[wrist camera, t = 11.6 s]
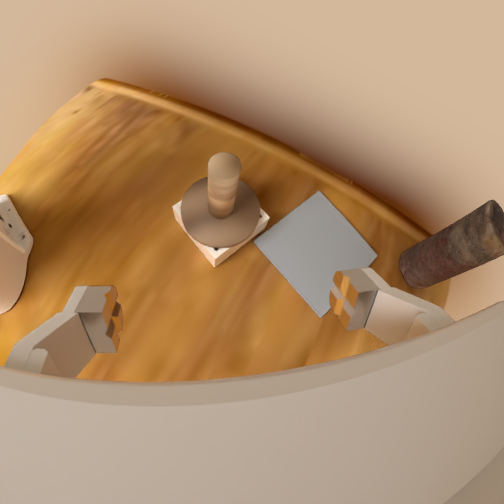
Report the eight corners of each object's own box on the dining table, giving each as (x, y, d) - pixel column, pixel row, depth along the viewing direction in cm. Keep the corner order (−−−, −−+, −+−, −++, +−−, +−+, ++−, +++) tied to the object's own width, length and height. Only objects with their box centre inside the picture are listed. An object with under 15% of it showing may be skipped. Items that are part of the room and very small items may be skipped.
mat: (253, 242, 38) (254, 240, 38) (317, 192, 42) (319, 190, 42) (319, 317, 36) (321, 317, 35) (375, 256, 40) (377, 255, 40)
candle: (425, 250, 43) (505, 204, 24) (430, 289, 40) (518, 255, 21) (395, 248, 42) (480, 193, 23) (400, 290, 39) (496, 252, 20)
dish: (175, 219, 38) (172, 206, 34) (224, 186, 40) (226, 171, 37) (214, 267, 36) (215, 259, 32) (264, 229, 39) (269, 217, 35)
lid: (166, 206, 34) (153, 159, 24) (225, 167, 37) (232, 116, 27) (214, 264, 32) (216, 232, 23) (274, 217, 35) (296, 174, 26)
